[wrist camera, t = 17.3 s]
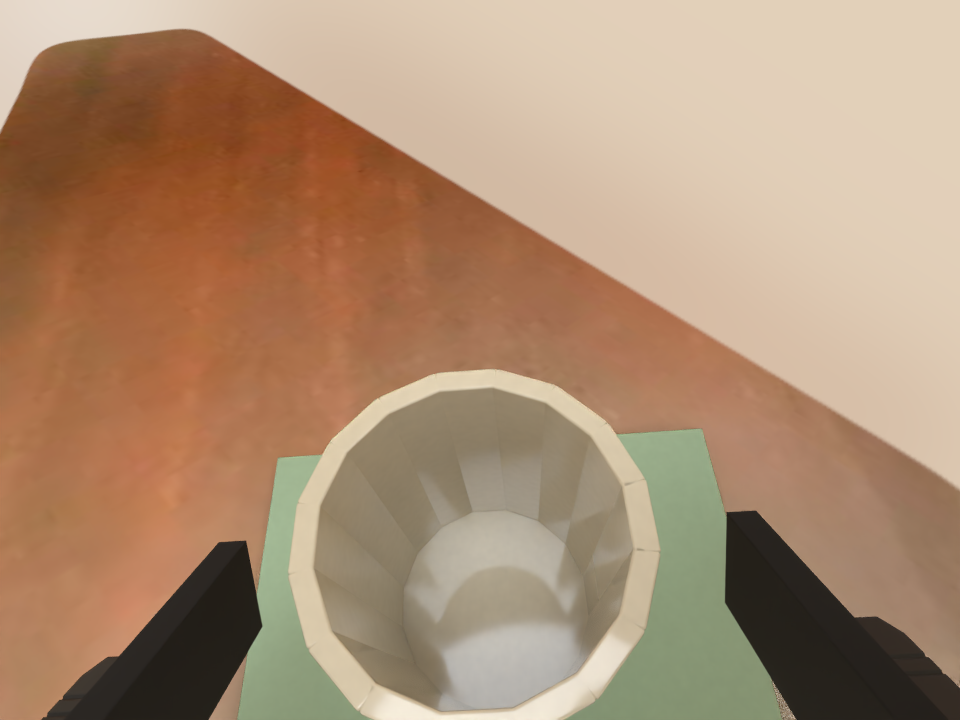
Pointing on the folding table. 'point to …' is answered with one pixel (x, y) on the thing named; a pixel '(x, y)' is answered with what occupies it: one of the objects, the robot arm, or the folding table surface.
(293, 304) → the folding table surface
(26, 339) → the folding table surface
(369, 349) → the folding table surface
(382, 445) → the cup
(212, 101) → the folding table surface
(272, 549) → the place mat
